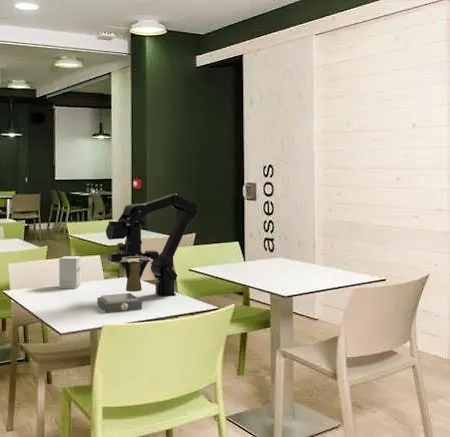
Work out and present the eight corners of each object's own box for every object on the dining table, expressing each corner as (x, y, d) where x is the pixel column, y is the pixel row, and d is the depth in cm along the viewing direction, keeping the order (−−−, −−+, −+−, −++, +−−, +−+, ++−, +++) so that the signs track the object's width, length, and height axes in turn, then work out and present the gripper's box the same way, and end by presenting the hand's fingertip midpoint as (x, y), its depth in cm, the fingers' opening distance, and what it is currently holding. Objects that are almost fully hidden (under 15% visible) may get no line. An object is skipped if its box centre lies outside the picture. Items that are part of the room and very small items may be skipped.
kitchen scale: (131, 302, 232) (131, 292, 231) (142, 309, 220) (142, 298, 220) (97, 305, 226) (97, 295, 225) (106, 313, 215) (106, 302, 214)
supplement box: (76, 288, 256) (76, 258, 255) (59, 288, 256) (58, 258, 255) (81, 285, 264) (80, 256, 263) (63, 285, 264) (63, 255, 263)
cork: (138, 292, 233) (138, 263, 232) (123, 291, 234) (123, 262, 233) (143, 288, 239) (143, 260, 238) (129, 288, 240) (128, 260, 239)
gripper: (149, 234, 246) (149, 273, 248) (103, 236, 238) (104, 276, 239) (159, 237, 236) (159, 277, 238) (111, 239, 228) (112, 281, 229)
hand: (133, 278), depth 236 cm, fingers closed on cork, 4 cm apart
